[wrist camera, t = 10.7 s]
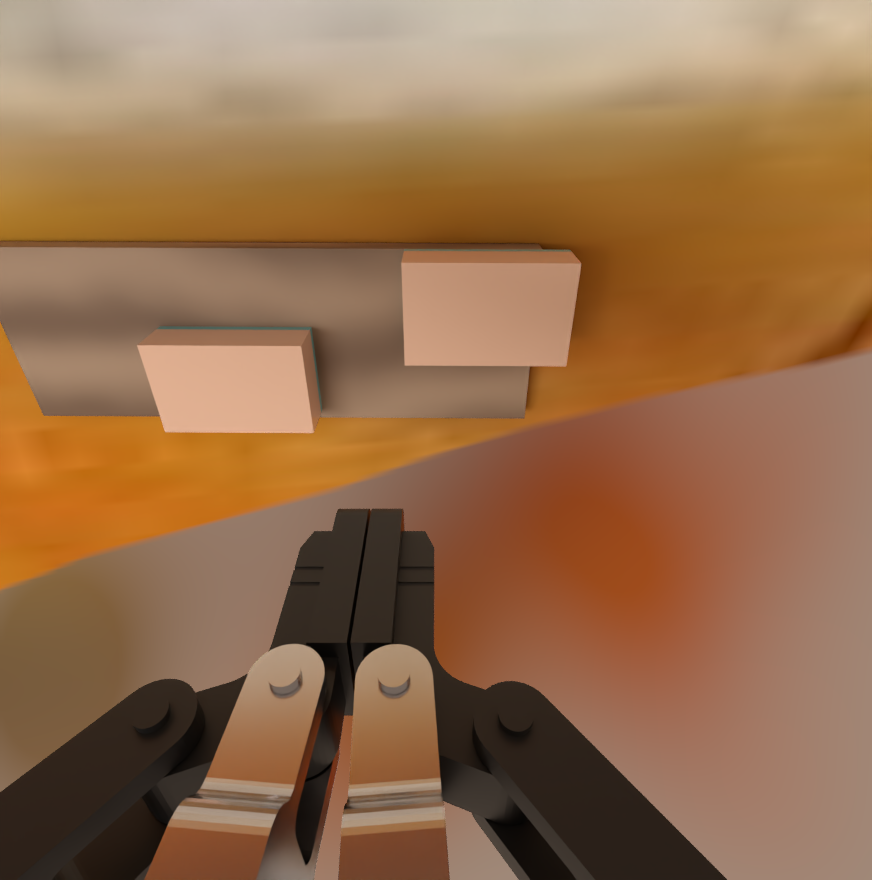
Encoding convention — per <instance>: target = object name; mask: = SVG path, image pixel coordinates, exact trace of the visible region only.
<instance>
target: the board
mask: <svg viewBox="0 0 872 880" xmlns="http://www.w3.org/2000/svg"><path fill="white" fill-rule="evenodd" d="M404 249H542V248H541V246H540V245H539V244H522V243H285V242H48V241H0V322H1V324H2V326H3V329H4V331H5V333H6V335H7V337H8V339H9V342H10V344H11V346H12V348H13V350H14V352H15V355H16V357H17V359H18V361H19V363H20V365H21V367H22V370H23V372H24V374H25V376H26V378H27V380H28V383H29V385H30V387H31V389H32V391H33V393H34V396H35V398H36V400H37V402H38V404H39V406H40V408H41V411H42V413H43V415H44V416H160V414H159V411H158V408H157V405H156V402H155V399H154V396H153V393H152V390H151V387H150V384H149V381H148V378H147V375H146V371H145V368H144V365H143V362H142V359H141V356H140V353H139V350H138V347H137V345H138V344H139V343H140V342H142V341H143V340H144V339H145V338H146V337H148V336H149V335H150V334H151V333H152V332H154V331H155V330H156V329H157V328H158V327H160V326H180V327H312V335H313V342H314V350H315V357H316V365H317V373H318V380H319V388H320V395H321V403H322V412H321V415H320V417H364V418H524V417H525V407H526V398H527V389H528V380H529V370H530V366H405V361H404V330H403V299H402V269H401V262H402V258H403V253H404Z"/></svg>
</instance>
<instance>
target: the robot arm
mask: <svg viewBox="0 0 872 880" xmlns="http://www.w3.org/2000/svg"><path fill="white" fill-rule="evenodd" d="M344 715H353V725H352V743H351V759H350V777H349V792H348V800H347V803H346V804H345V806H344V812H343V818H342V828H341V843H340V857H339V874H338V880H450V875H449V864H448V863H449V862H448V849H447V836H446V823H445V811H444V802H443V801H445V802H447V803H450V804H452V805H455V806H457V807H460V808H462V809H465V810H467V811H469V812H472V815H473V817H474V818H475V820H476V822H477V823H478V824H479V826H480V827H481V829H482V830H483V831H484V833H485V834H486V835H487V837H488V838H489V839H490V841H491V842H492V843H493V845H494V846H495V848H496V849H497V850H498V852H499V853H500V854H501V856H502V857H503V859H504V860H505V861H506V863H507V864H508V865H509V867H510V868H511V869H512V871H513V872H514V874H515V875H516V876H517V878H518V879H519V880H727V879H726V878H725V877H724V876H723V875H722V874H721V873H720V872H719V871H718V870H717V869H716V868H715V867H714V866H713V865H712V864H711V863H710V862H709V861H708V860H707V859H706V858H705V857H704V856H703V855H702V854H701V853H700V852H699V851H698V850H697V849H696V848H695V847H694V846H693V845H692V844H691V843H690V842H689V841H688V840H687V839H686V838H685V837H684V836H683V835H682V834H681V833H680V832H679V831H678V830H677V829H676V828H675V827H674V826H673V825H672V824H671V823H670V822H669V821H668V820H667V819H666V818H665V817H664V816H663V815H662V814H661V813H660V812H659V811H658V810H657V809H656V808H655V807H654V806H653V805H652V804H651V803H650V802H649V801H648V800H647V799H646V798H645V797H644V796H643V795H642V794H641V793H640V792H639V791H638V790H637V789H636V788H635V787H634V786H633V785H632V784H631V783H630V782H629V781H628V780H627V779H626V778H625V777H624V776H623V775H622V774H621V773H620V772H619V771H618V770H617V769H616V768H615V767H614V766H613V765H612V764H611V763H610V762H609V761H608V760H607V759H606V758H605V757H604V756H603V755H602V754H601V753H600V752H599V751H598V750H597V749H596V748H595V747H594V746H593V745H592V744H591V743H590V742H589V741H588V740H587V739H586V738H585V737H584V736H583V735H582V734H581V733H580V732H579V731H578V730H577V729H576V728H575V727H574V725H573V724H572V723H571V722H570V721H569V720H568V719H566V717H565V716H564V715H562V714H561V713H560V711H558V709H557V708H556V707H555V706H554V705H553V704H552V703H550V701H549V700H548V699H547V698H545V696H544V695H542V694H541V693H540V692H539V691H538V690H536V689H535V688H533V687H531V686H529V685H527V684H524V683H520V682H515V681H505V682H501V683H497V684H495V685H492V686H491V687H489V688H488V689H486V690H484V689H481V688H478V687H476V686H472V685H469V684H467V683H464V682H462V681H459V680H457V679H456V678H454V677H452V676H451V675H450V674H448V673H447V672H446V671H445V670H444V669H443V668H442V666H441V665H440V664H439V662H438V660H437V658H436V655H435V651H434V547H433V545H432V543H431V541H430V539H429V538H428V536H427V534H426V532H425V531H404V511H403V509H372V510H371V511H370V509H338V511H337V513H336V517H335V522H334V526H333V530H332V531H314V533H313V534H312V535H311V536H310V537H309V538H308V540H307V541H306V542H305V543H304V544H303V546H302V547H301V548H300V551H299V555H298V558H297V562H296V565H295V570H294V572H293V575H292V578H291V581H290V586H289V588H288V592H287V595H286V599H285V602H284V605H283V608H282V612H281V615H280V618H279V622H278V625H277V629H276V632H275V635H274V639H273V642H272V645H271V647H270V650H269V651H268V652H267V653H265V654H264V655H263V656H261V657H260V658H259V659H258V660H257V661H256V662H255V664H254V665H253V666H252V667H251V669H250V671H249V673H248V674H246V675H245V676H243V677H241V678H239V679H237V680H235V681H232V682H229V683H226V684H223V685H219V686H216V687H213V688H210V689H206V690H203V691H199V692H197V693H195V692H194V690H193V689H192V687H191V686H190V685H188V684H187V683H185V682H183V681H181V680H177V679H164V680H159V681H154V682H152V683H149V684H147V685H145V686H143V687H141V688H139V689H138V690H136V691H135V692H133V693H132V694H131V695H129V696H128V697H127V698H125V699H124V700H123V701H121V702H120V703H119V704H117V705H116V706H115V707H113V708H112V709H111V710H109V711H108V712H107V713H105V714H104V715H103V716H101V717H100V718H99V719H97V720H96V721H95V722H93V723H92V724H91V725H89V726H88V727H87V728H85V729H84V730H83V731H81V732H80V733H79V734H77V735H76V736H75V737H73V738H72V739H71V740H69V741H68V742H67V743H65V744H64V745H63V746H61V747H60V748H59V749H57V750H56V751H55V752H53V753H52V754H51V755H49V756H48V757H47V758H45V759H44V760H43V761H41V762H40V763H39V764H37V765H36V766H35V767H33V768H32V769H31V770H29V771H28V772H27V773H25V774H24V775H23V776H21V777H20V778H19V779H17V780H16V781H15V782H13V783H12V784H11V785H9V786H8V787H7V788H5V789H4V790H3V791H2V792H0V880H314V876H315V869H316V863H317V858H318V853H319V848H320V844H321V840H322V835H323V830H324V826H325V821H326V816H327V812H328V807H329V803H330V798H331V794H332V788H333V784H334V780H335V775H336V771H337V766H338V761H339V755H340V746H339V745H340V739H341V732H342V726H343V719H344Z"/></svg>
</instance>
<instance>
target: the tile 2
mask: <svg viewBox="0 0 872 880" xmlns="http://www.w3.org/2000/svg"><path fill="white" fill-rule="evenodd" d="M401 269H402V299H403V330H404V361H405V366H566V364H567V357H568V351H569V344H570V337H571V330H572V324H573V317H574V310H575V304H576V297H577V290H578V283H579V277H580V270H581V262H580V261H579V260H578V259H577V258H576V256H575V255H574V254H573V253H572V251H571V250H547V249H404V253H403V258H402V262H401Z"/></svg>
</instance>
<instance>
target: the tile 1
mask: <svg viewBox="0 0 872 880" xmlns="http://www.w3.org/2000/svg"><path fill="white" fill-rule="evenodd" d="M137 347H138V350H139V353H140V356H141V359H142V362H143V365H144V368H145V371H146V375H147V378H148V381H149V384H150V387H151V390H152V393H153V396H154V399H155V402H156V405H157V408H158V411H159V414H160V418H161V421H162V424H163V427H164V430H165V432H226V433H314V431H315V428H316V426H317V423H318V420H319V418H320V415H321V412H322V403H321V395H320V388H319V380H318V373H317V365H316V357H315V350H314V342H313V335H312V327H180V326H160V327H158V328H157V329H156V330H155V331H154V332H152V333H151V334H150V335H149V336H148V337H146V338H145V339H144V340H143V341H142V342H140V343H139V344H138V345H137Z"/></svg>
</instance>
